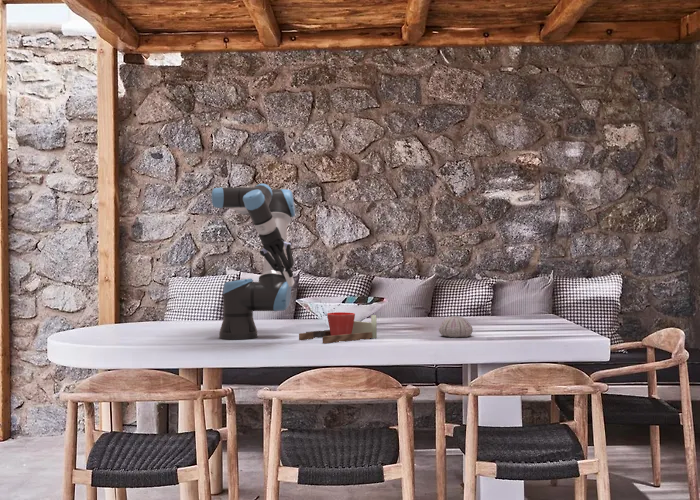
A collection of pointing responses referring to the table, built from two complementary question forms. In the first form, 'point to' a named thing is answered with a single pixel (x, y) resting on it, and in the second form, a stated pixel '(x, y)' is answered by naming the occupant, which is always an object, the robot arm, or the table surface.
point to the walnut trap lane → (334, 336)
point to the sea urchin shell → (455, 327)
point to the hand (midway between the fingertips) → (292, 284)
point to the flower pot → (340, 323)
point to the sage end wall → (366, 327)
